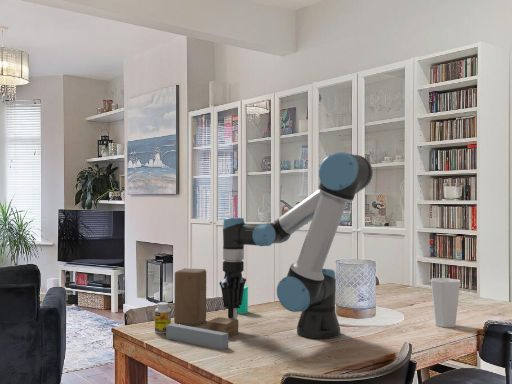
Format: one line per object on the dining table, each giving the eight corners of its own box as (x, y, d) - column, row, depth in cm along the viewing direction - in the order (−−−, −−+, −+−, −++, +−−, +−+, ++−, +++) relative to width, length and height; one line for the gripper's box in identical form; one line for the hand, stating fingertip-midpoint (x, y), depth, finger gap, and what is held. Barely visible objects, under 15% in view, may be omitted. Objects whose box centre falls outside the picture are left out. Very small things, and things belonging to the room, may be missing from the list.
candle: (250, 311, 229) (250, 282, 229) (243, 314, 224) (244, 284, 224) (237, 310, 232) (237, 281, 232) (230, 312, 226) (231, 283, 226)
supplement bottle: (151, 333, 191) (152, 304, 191) (159, 329, 196) (159, 301, 196) (166, 334, 189) (166, 305, 189) (173, 331, 194) (173, 302, 194)
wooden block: (199, 326, 202) (199, 272, 202) (173, 324, 204) (173, 271, 204) (206, 320, 211) (207, 268, 212) (182, 319, 213) (182, 268, 214)
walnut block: (238, 333, 192) (238, 319, 192) (226, 338, 184) (226, 324, 185) (218, 331, 195) (219, 317, 195) (206, 336, 188) (206, 321, 188)
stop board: (228, 347, 173) (228, 333, 173) (222, 349, 170) (222, 335, 170) (172, 336, 186) (172, 323, 186) (166, 338, 184) (166, 324, 184)
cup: (433, 321, 212) (433, 277, 212) (461, 323, 207) (461, 279, 208) (429, 327, 202) (429, 281, 202) (458, 330, 197) (458, 283, 198)
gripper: (235, 258, 203) (235, 321, 203) (213, 261, 192) (212, 328, 192) (252, 259, 198) (251, 324, 198) (230, 263, 188) (229, 331, 188)
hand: (232, 326), depth 195 cm, fingers closed
